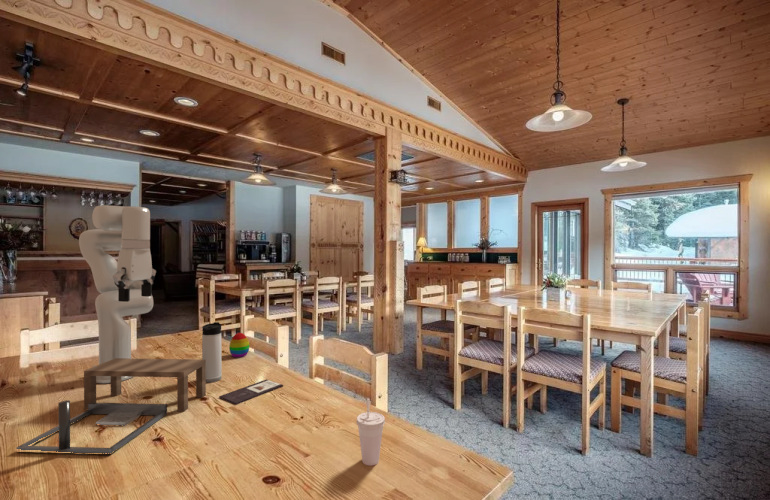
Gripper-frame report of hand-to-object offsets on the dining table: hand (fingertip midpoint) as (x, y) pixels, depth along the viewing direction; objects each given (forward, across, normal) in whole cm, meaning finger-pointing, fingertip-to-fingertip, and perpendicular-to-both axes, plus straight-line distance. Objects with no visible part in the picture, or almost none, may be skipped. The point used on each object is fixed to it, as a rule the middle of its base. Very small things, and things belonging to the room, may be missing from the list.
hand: (135, 298), depth 120 cm
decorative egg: (+32, -44, +14) cm, 56 cm away
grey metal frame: (+30, +24, +9) cm, 40 cm away
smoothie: (+28, +31, +80) cm, 91 cm away
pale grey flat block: (+31, +17, +9) cm, 37 cm away
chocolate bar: (+31, -5, +37) cm, 48 cm away
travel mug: (+31, -15, +18) cm, 39 cm away
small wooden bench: (+31, +5, +8) cm, 32 cm away
